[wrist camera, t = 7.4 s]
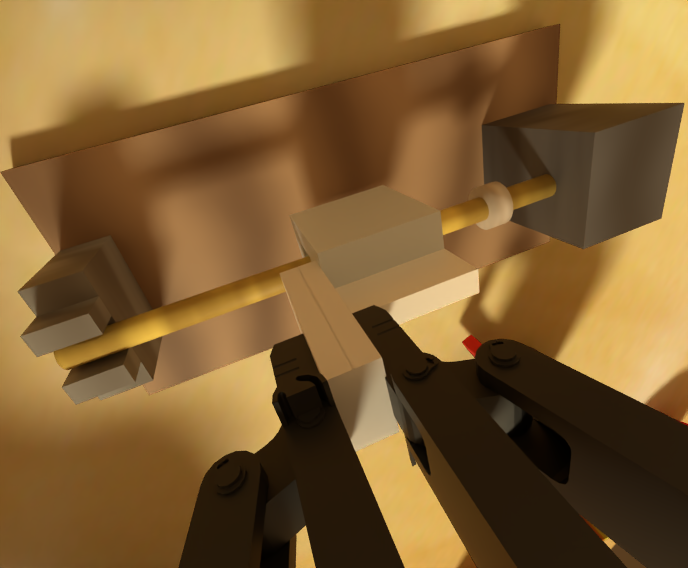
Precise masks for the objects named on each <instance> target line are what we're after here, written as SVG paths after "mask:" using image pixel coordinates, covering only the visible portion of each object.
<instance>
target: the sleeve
mask: <svg viewBox="0 0 688 568" xmlns="http://www.w3.org/2000/svg"><path fill="white" fill-rule="evenodd" d="M289 216H290V219H291V222H292V226H293V229H294V232H295V235H296V238H297V242H298V245H299V248H300V251H301V255H302V258H304V257H307V256H309V257H310V259H311V262H313V261H315V260H316V262H317V263H318V265H319V266H320V268H321V269H322V270H323V272H324V273H325V275H326V276H327V278H328V279H329V281H330V282H331V284H332V285H333V287H334V288H335V290H336V291H337V292H338V294H339V295H340V297H341V298H342V300H343V301H344V303H345V304H346V306H347V307H348V309H349V310H350V311H351V313H354V312H357V311H359V310H362V309H365V308H367V307H370V306H372V305H375V306H378V307H380V308H382V309H385V310H386V311H387V312H388V313H389V314H390V315H391V316H392V318H393V320H395V321H396V322H397V323H398V325H399V324H402V323H404V322H407V321H410V320H412V319H415V318H417V317H420V316H422V315H425V314H427V313H430V312H432V311H435V310H437V309H440V308H442V307H445V306H447V305H450V304H452V303H455V302H457V301H460V300H462V299H465V298H468V297H470V296H473V295H475V294H478V293H479V276H478V269H477V268H476V267H474V266H472V265H471V264H469V263H467V262H466V261H464V260H463V259H461V258H459V257H458V256H456V255H454V254H453V253H451V252H449V251H448V250H446V249H444V241H443V231H442V221H441V212H440V210H437V209H435V208H433V207H431V206H428V205H426V204H424V203H422V202H420V201H417V200H415V199H413V198H411V197H409V196H406V195H404V194H402V193H400V192H397V191H395V190H393V189H391V188H389V187H386V186H384V185H381V186H378V187H375V188H372V189H369V190H366V191H363V192H360V193H356V194H353V195H350V196H347V197H344V198H341V199H338V200H335V201H332V202H329V203H326V204H322V205H319V206H316V207H313V208H310V209H307V210H304V211H301V212H298V213H295V214H291V215H289Z"/></svg>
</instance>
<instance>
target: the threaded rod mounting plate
mask: <svg viewBox="0 0 688 568" xmlns="http://www.w3.org/2000/svg"><path fill="white" fill-rule="evenodd" d="M559 37H560V24H557V25H553V26H548V27H544V28H540V29H537V30H533V31H529V32H525V33H522V34H518V35H514V36H510V37H506V38H503V39H499V40H495V41H491V42H488V43H484V44H480V45H476V46H472V47H469V48H465V49H461V50H457V51H454V52H450V53H446V54H442V55H439V56H435V57H431V58H427V59H423V60H420V61H416V62H412V63H408V64H405V65H401V66H397V67H393V68H389V69H386V70H382V71H378V72H374V73H371V74H367V75H363V76H359V77H355V78H352V79H348V80H344V81H340V82H337V83H333V84H329V85H325V86H321V87H318V88H314V89H310V90H306V91H303V92H299V93H295V94H291V95H287V96H284V97H280V98H276V99H272V100H269V101H265V102H261V103H257V104H253V105H250V106H246V107H242V108H238V109H235V110H231V111H227V112H223V113H219V114H216V115H212V116H208V117H204V118H201V119H197V120H193V121H189V122H186V123H182V124H178V125H174V126H170V127H167V128H163V129H159V130H155V131H152V132H148V133H144V134H140V135H136V136H133V137H129V138H125V139H121V140H118V141H114V142H110V143H106V144H102V145H99V146H95V147H91V148H87V149H84V150H80V151H76V152H72V153H68V154H65V155H61V156H57V157H53V158H50V159H46V160H42V161H38V162H34V163H31V164H27V165H23V166H19V167H16V168H12V169H9V170H5V171H2V172H0V173H1V174H2V176H3V177H4V178H5V180H6V181H7V183H8V184H9V186H10V187H11V189H12V190H13V192H14V193H15V195H16V196H17V198H18V199H19V201H20V202H21V204H22V205H23V207H24V208H25V210H26V211H27V213H28V214H29V216H30V217H31V219H32V220H33V222H34V223H35V225H36V226H37V228H38V229H39V231H40V232H41V234H42V235H43V237H44V238H45V240H46V241H47V243H48V244H49V246H50V247H51V249H52V250H53V252H54V253H55V256H54V257H53V258H52V259H51V260H50V261H49V262H48V263H47V264H46V265H45V266H44V267H43V268H42V269H41V270H39V271H38V272H37V273H36V274H35V275H34V276H33V277H32V278H31V279H30V280H29V281H28V282H27V283H26V284H25V285H24V286H23V287H22V288H21V289H20V290H19V291H18V293H19V294H20V296H21V297H22V298H23V300H24V301H25V302H26V303H27V305H28V306H29V307H30V309H31V310H32V311H33V313H34V314H35V315H36V318H35V319H34V321H33V322H32V323H31V324H30V325H29V327H28V328H27V329H26V330H25V331H24V333H23V334H22V335H21V336H20V337H21V338H22V339H23V340H24V342H25V343H26V344H27V345H28V347H29V348H30V349H31V350H32V351H33V353H34V354H35V355H36V356H37V357H39V356H42V355H45V354H48V353H50V352H53V351H54V356H55V359H56V361H57V363H58V364H59V365H60V366H61V367H62V368H63V369H65V370H69V369H71V371H70V373H69V375H68V377H67V378H66V380H65V382H64V384H63V386H62V388H63V389H64V391H65V392H66V393H67V394H68V396H69V397H70V398H71V399H72V400H73V402H74V403H75V404H79V403H82V402H84V401H87V400H90V399H92V398H95V397H98V398H99V399H100V400H103V399H106V398H108V397H111V396H114V395H116V394H119V393H122V392H124V391H127V390H130V389H132V388H135V387H138V386H140V385H143V386H144V388H145V389H146V391H147V392H148V394H149V395H151V394H154V393H156V392H159V391H162V390H164V389H167V388H169V387H172V386H175V385H177V384H180V383H182V382H185V381H188V380H190V379H193V378H195V377H198V376H201V375H203V374H206V373H208V372H211V371H214V370H216V369H219V368H221V367H224V366H227V365H229V364H232V363H234V362H237V361H240V360H242V359H245V358H248V357H250V356H253V355H255V354H258V353H261V352H263V351H266V350H268V349H271V348H273V346H274V344H277V343H280V342H282V341H285V340H287V339H290V338H292V337H295V336H298V335H300V334H301V332H300V329H299V326H298V323H297V321H296V318H295V315H294V312H293V310H292V307H291V304H290V301H289V298H288V296H287V293H286V290H285V287H284V284H283V282H282V279H281V276H280V273H281V272H284V271H287V270H290V269H293V268H296V267H298V266H301V265H304V264H307V263H310V262H311V259H310V257H309V256H307V257H304V258H302V255H301V251H300V248H299V245H298V242H297V238H296V235H295V232H294V229H293V226H292V222H291V219H290V216H289V215H291V214H295V213H298V212H301V211H304V210H307V209H310V208H313V207H316V206H319V205H322V204H326V203H329V202H332V201H335V200H338V199H341V198H344V197H347V196H350V195H353V194H356V193H360V192H363V191H366V190H369V189H372V188H375V187H378V186H381V185H384V186H386V187H389V188H391V189H393V190H395V191H397V192H400V193H402V194H404V195H406V196H409V197H411V198H413V199H415V200H417V201H420V202H422V203H424V204H426V205H428V206H431V207H433V208H435V209H437V210H440V212H441V221H442V231H443V241H444V249H446V250H448V251H449V252H451V253H453V254H454V255H456V256H458V257H459V258H461V259H463V260H464V261H466V262H467V263H469V264H471V265H472V266H474V267H476V268H477V269H479V268H482V267H485V266H487V265H490V264H493V263H495V262H498V261H500V260H503V259H506V258H508V257H511V256H513V255H516V254H519V253H521V252H524V251H526V250H529V249H532V248H534V247H537V246H539V245H542V244H545V243H547V242H550V237H553V238H556V239H558V240H561V241H564V242H566V243H569V244H571V245H574V246H577V247H579V248H582V249H585V248H588V247H590V246H593V245H595V244H598V243H600V242H603V241H605V240H608V239H610V238H613V237H615V236H618V235H621V234H623V233H626V232H628V231H631V230H633V229H636V228H638V227H641V226H643V225H646V224H648V223H651V222H653V221H656V220H659V219H661V217H662V212H663V207H664V202H665V197H666V192H667V187H668V183H669V178H670V173H671V168H672V163H673V158H674V153H675V148H676V143H677V138H678V133H679V128H680V123H681V118H682V113H683V108H684V103H622V104H556V99H557V78H558V58H559Z"/></svg>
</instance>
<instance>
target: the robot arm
mask: <svg viewBox="0 0 688 568" xmlns="http://www.w3.org/2000/svg"><path fill="white" fill-rule="evenodd" d="M280 276H281V279H282V282H283V284H284V287H285V290H286V293H287V296H288V298H289V301H290V304H291V307H292V310H293V312H294V315H295V318H296V321H297V323H298V326H299V329H300V332H301V334H300V335H298V336H295V337H292V338H290V339H287V340H285V341H282V342H280V343H277V344H274V346H273V349H272V352H271V355H270V359H271V363H272V367H273V371H274V376H275V380H276V384H277V388H276V390H275V392H274V393H273V399H272V404H273V406H274V408H275V410H276V413H277V415H278V417H279V419H280V421H281V423H282V426H281V428H280V430H279V432H278V433H277V434H276V436H275V437H274V438H273V439H272V440H271V441H270V442H269V443H268V444H267V445H266V446H264V447H263V448H262V449H260V450H259V451H258V452H256V453H255V454H253V453H250V452H248V451H235V452H233V453H230V454H228V455H225V456H224V457H222V458H221V459H220V460H218V461H217V462H215V463H214V464H213V466H212V467H211V468H210V469H209V470H208V472H207V473H206V474H205V477H204V479H203V481H202V483H201V486H200V490H199V493H198V497H197V501H196V505H195V508H194V512H193V516H192V520H191V523H190V527H189V531H188V534H187V538H186V542H185V546H184V549H183V553H182V557H181V561H180V564H179V568H296V534H297V533H298V532H299V531H300V530H301V529H302V528H303V527H304V526H305V525H306V527H307V532H308V536H309V540H310V545H311V549H312V553H313V558H314V562H315V566H316V568H405V567H404V565H403V563H402V560H401V558H400V556H399V553H398V551H397V549H396V546H395V544H394V541H393V539H392V537H391V534H390V532H389V530H388V527H387V525H386V523H385V520H384V518H383V515H382V513H381V511H380V508H379V506H378V504H377V501H376V499H375V497H374V494H373V492H372V489H371V487H370V485H369V482H368V480H367V478H366V475H365V473H364V471H363V468H362V466H361V463H360V461H359V459H358V456H357V454H356V451H358V450H360V449H363V448H365V447H367V446H369V445H371V444H374V443H376V442H378V441H380V440H382V439H385V438H387V437H389V436H391V435H393V434H396V433H398V432H399V428H398V424H397V422H398V423H399V425H400V427H401V429H402V430H403V432H404V434H405V438H406V443H407V447H408V452H409V456H410V460H411V463H412V466H414V465H416V462H417V464H418V466H419V468H420V469H421V471H422V473H423V474H424V476H425V478H426V480H427V481H428V483H429V485H430V487H431V488H432V490H433V492H434V494H435V495H436V497H437V499H438V501H439V502H440V504H441V506H442V507H443V509H444V511H445V513H446V514H447V516H448V518H449V520H450V521H451V523H452V525H453V527H454V528H455V530H456V532H457V534H458V535H459V537H460V539H461V540H462V542H463V544H464V546H465V547H466V549H467V551H468V553H469V554H470V556H471V558H472V560H473V561H474V563H475V565H476V567H477V568H627V567H626V566H625V565H624V564H623V563H622V561H621V560H620V559H619V558H618V557H617V556H616V555H615V554H614V553H613V551H612V550H611V549H610V548H609V547H608V546H607V545H606V544H605V543H604V541H603V540H602V539H601V538H600V537H599V536H598V535H597V534H596V533H595V531H594V530H593V529H592V528H591V527H590V526H589V525H588V524H587V523H586V521H585V520H584V519H583V518H582V517H584V518H585V519H586V520H587V521H589V522H590V523H591V524H592V525H594V526H595V527H596V528H597V529H599V530H600V531H601V532H602V533H604V534H605V535H606V536H607V537H609V538H610V539H611V540H613V541H614V542H615V543H616V544H618V545H619V546H620V547H621V548H623V549H624V550H625V551H626V552H628V553H629V554H630V555H632V556H633V557H634V558H635V559H637V560H638V561H639V562H640V563H641V564H643V565H644V566H645V567H647V568H688V426H687V425H685V424H683V423H681V422H679V421H677V420H675V419H673V418H671V417H669V416H667V415H665V414H663V413H661V412H659V411H657V410H655V409H653V408H651V407H649V406H647V405H645V404H643V403H641V402H639V401H637V400H635V399H633V398H631V397H629V396H627V395H625V394H623V393H621V392H619V391H617V390H615V389H613V388H611V387H609V386H607V385H605V384H603V383H601V382H598V381H596V380H594V379H592V378H590V377H588V376H586V375H584V374H582V373H580V372H578V371H576V370H574V369H572V368H570V367H568V366H566V365H564V364H562V363H560V362H558V361H556V360H554V359H552V358H550V357H548V356H546V355H544V354H542V353H540V352H538V351H536V350H534V349H532V348H530V347H528V346H526V345H524V344H522V343H519V342H516V341H513V340H507V339H497V340H490V341H488V342H486V343H484V344H482V345H481V346H480V347H479V348H478V349H477V350H476V354H475V359H470V360H463V361H457V362H442V361H441V360H439V359H438V358H437V357H435V356H434V355H431V354H428V353H423V352H422V351H421V350H420V349H419V348H418V347H417V346H416V344H415V343H414V342H413V341H412V340H411V339H410V337H409V336H408V335H407V334H406V333H405V332H404V330H403V329H402V328H401V327H399V325H398V323H397V322H396V321H395V320H393V318H392V316H391V315H390V314H389V313H388V312H387V311H386V310H385V309H382V308H380V307H378V306H375V305H372V306H370V307H367V308H365V309H362V310H359V311H357V312H354V313H351V311H350V310H349V309H348V307H347V306H346V304H345V303H344V301H343V300H342V298H341V297H340V295H339V294H338V292H337V291H336V290H335V288H334V287H333V285H332V284H331V282H330V281H329V279H328V278H327V276H326V275H325V273H324V272H323V270H322V269H321V268H320V266H319V265H318V263H317V262H316V260H315V261H313V262H310V263H307V264H304V265H301V266H298V267H296V268H293V269H290V270H287V271H284V272H281V273H280ZM579 514H580V515H581V516H582V517H581V516H580V515H579Z"/></svg>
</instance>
